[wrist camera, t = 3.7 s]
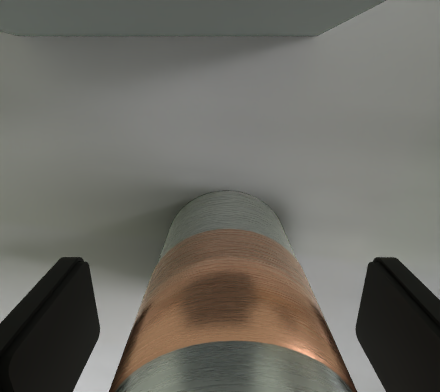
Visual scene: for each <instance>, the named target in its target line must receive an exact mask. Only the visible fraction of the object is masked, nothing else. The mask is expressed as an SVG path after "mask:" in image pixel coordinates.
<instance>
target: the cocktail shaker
mask: <svg viewBox="0 0 440 392" xmlns="http://www.w3.org/2000/svg"><path fill="white" fill-rule="evenodd" d="M109 392H357V390H356V388H355V386H354V384H353V381H352V379H351V377H350V375H349V372H348V370H347V368H346V366H345V363H344V361H343V359H342V357H341V354H340V352H339V350H338V348H337V345H336V343H335V341H334V339H333V336H332V334H331V332H330V330H329V327H328V325H327V323H326V321H325V318H324V316H323V314H322V312H321V310H320V307H319V305H318V303H317V301H316V298H315V296H314V294H313V292H312V289H311V287H310V285H309V283H308V280H307V278H306V276H305V274H304V272H303V269H302V267H301V266H300V264H299V263H298V261H297V259H296V257H295V255H294V252H293V250H292V248H291V246H290V243H289V241H288V239H287V236H286V234H285V232H284V230H283V227H282V225H281V223H280V221H279V219H278V217H277V216H276V214H275V213H274V212H273V211H272V209H271V208H270V207H269V206H267V205H266V204H265V203H264V202H262V201H261V200H259V199H258V198H255V197H253V196H251V195H249V194H245V193H242V192H237V191H217V192H211V193H208V194H205V195H202V196H200V197H198V198H196V199H194V200H192V201H191V202H189V203H188V204H187V205H186V206H184V207H183V208H182V209H181V211H180V212H179V213H178V214H177V216H176V217H175V219H174V220H173V222H172V225H171V227H170V230H169V233H168V235H167V238H166V241H165V244H164V247H163V249H162V252H161V255H160V258H159V261H158V263H157V265H156V267H155V269H154V271H153V273H152V275H151V278H150V281H149V284H148V286H147V289H146V292H145V295H144V297H143V300H142V303H141V306H140V308H139V311H138V314H137V317H136V319H135V322H134V325H133V327H132V330H131V333H130V336H129V338H128V341H127V344H126V347H125V349H124V352H123V355H122V358H121V360H120V363H119V366H118V369H117V371H116V374H115V377H114V380H113V382H112V385H111V388H110V390H109Z"/></svg>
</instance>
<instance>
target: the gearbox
mask: <svg viewBox="0 0 440 392" xmlns="http://www.w3.org/2000/svg"><path fill="white" fill-rule="evenodd" d="M384 1H386V0H0V31H1V32H5V33H10V34H14V35H18V36H318V35H320V34H322V33H324V32H326V31H328V30H330V29H332V28H334V27H335V26H337V25H339V24H341V23H343V22H345V21H347V20H349V19H351V18H353V17H355V16H357V15H359V14H361V13H363V12H365V11H367V10H369V9H370V8H372V7H374V6H376V5H378V4H380V3H382V2H384Z"/></svg>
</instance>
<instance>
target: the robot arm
mask: <svg viewBox="0 0 440 392" xmlns="http://www.w3.org/2000/svg"><path fill="white" fill-rule="evenodd" d="M99 333H100V325H99V319H98V314H97V308H96V302H95V297H94V291H93V285H92V280H91V274H90V268H89V264H88V262H84V261H83V259H82V258H81V257H63V258H61V259H59V260H58V262H57V263H56V264H55V265H54V266H53V267H52V268H51V269H50V270H49V271H48V272H47V273H46V275H45V276H44V277H43V278H42V279H41V280H40V281H39V282H38V283H37V284H36V285H35V286H34V287H33V289H32V290H31V291H30V292H29V293H28V294H27V295H26V296H25V297H24V298H23V299H22V300H21V301H20V303H19V304H18V305H17V306H16V307H15V308H14V309H13V310H12V311H11V312H10V313H9V314H8V316H7V317H6V318H5V319H4V320H3V321H2V322H1V323H0V392H73V390H74V388H75V386H76V384H77V381H78V379H79V377H80V375H81V373H82V371H83V369H84V367H85V365H86V363H87V361H88V359H89V357H90V355H91V353H92V350H93V348H94V346H95V344H96V342H97V340H98V338H99ZM356 335H357V338H358V341H359V342H360V344H361V346H362V348H363V350H364V352H365V354H366V355H367V357H368V359H369V361H370V363H371V365H372V366H373V368H374V370H375V372H376V374H377V376H378V378H379V379H380V381H381V383H382V385H383V387H384V389H385V390H386V392H440V300H439V299H438V298H437V297H436V296H435V295H434V294H433V293H432V292H431V291H430V290H429V289H428V288H427V287H426V286H425V285H424V284H423V283H422V282H421V281H420V280H419V279H418V278H417V277H416V276H415V275H414V274H412V273H411V272H410V271H409V270H408V269H407V268H406V267H405V266H404V265H403V264H402V263H401V262H400V261H399V260H398V259H397V258H394V257H377V258H375V259H374V260H373V262H370V263H369V264H368V268H367V273H366V278H365V283H364V288H363V293H362V298H361V303H360V308H359V313H358V318H357V323H356Z"/></svg>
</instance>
